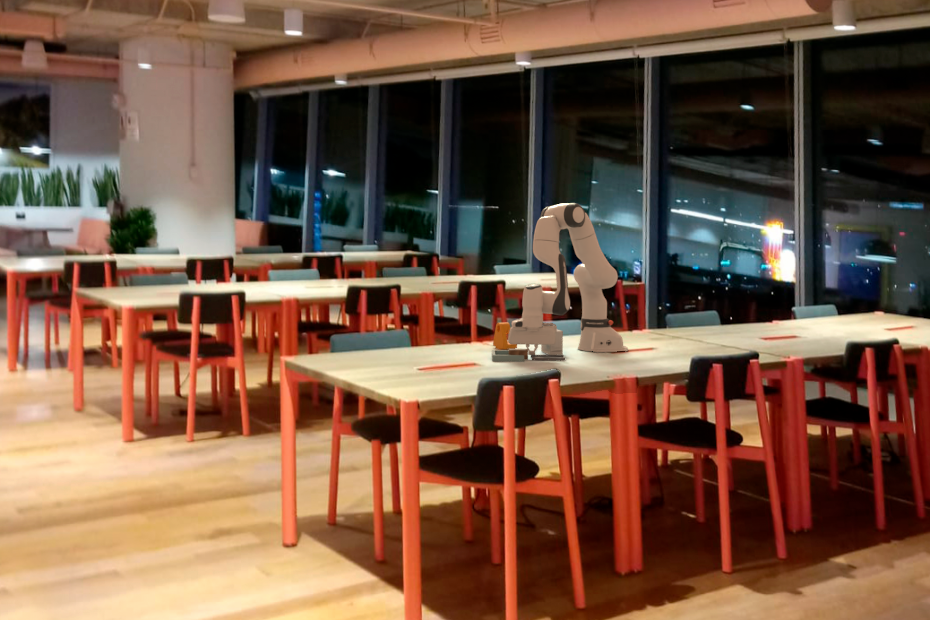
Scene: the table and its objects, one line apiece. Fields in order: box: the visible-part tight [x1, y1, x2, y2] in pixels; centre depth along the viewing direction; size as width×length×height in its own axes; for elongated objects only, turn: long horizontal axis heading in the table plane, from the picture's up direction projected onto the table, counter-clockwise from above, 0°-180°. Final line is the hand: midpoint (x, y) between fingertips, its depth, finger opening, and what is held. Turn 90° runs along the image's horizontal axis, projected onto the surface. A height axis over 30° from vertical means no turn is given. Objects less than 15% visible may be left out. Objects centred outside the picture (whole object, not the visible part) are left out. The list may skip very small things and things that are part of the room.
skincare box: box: [540, 328, 564, 355], centre depth 452 cm, size 10×6×10 cm, turn 18°
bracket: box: [492, 321, 518, 350], centre depth 463 cm, size 11×7×12 cm, turn 24°
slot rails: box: [530, 354, 566, 362], centre depth 435 cm, size 14×8×1 cm, turn 90°
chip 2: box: [517, 348, 529, 361], centre depth 435 cm, size 4×4×4 cm
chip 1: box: [508, 348, 519, 355], centre depth 435 cm, size 4×4×4 cm
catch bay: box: [491, 349, 525, 362], centre depth 435 cm, size 13×14×2 cm
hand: (531, 354), depth 435 cm, fingers closed
